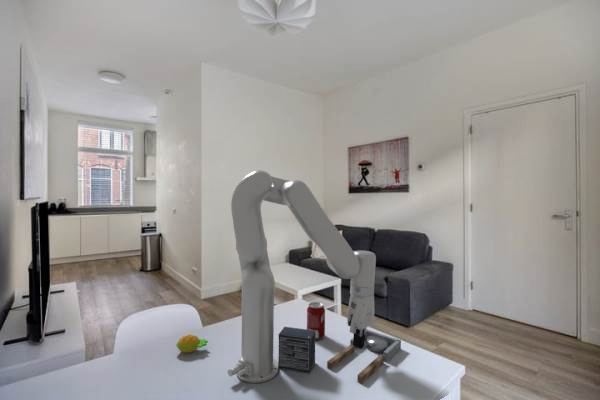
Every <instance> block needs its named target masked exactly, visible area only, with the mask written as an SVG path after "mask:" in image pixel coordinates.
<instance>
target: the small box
mask: <svg viewBox="0 0 600 400" xmlns="http://www.w3.org/2000/svg"><path fill="white" fill-rule="evenodd" d="M315 365H316V340H315V331H314V330H307V328H306V329H305V328H298V327H290V326H283V328H282V330H281V331H280V332H279V333H278V369H284V370H287V371H288V370H289V371H293V372H294V371H295V372H301V373H307V374H311V373H312V371H313V369H314V367H315Z"/></svg>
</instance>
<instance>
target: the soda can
mask: <svg viewBox="0 0 600 400" xmlns="http://www.w3.org/2000/svg"><path fill="white" fill-rule="evenodd" d="M306 329H307V330H314V331H315V341H316V340H322V339H323V338H324V337H325V336H326V335H325V334H326V331H325V330H326V309H325V307H324V304H323V302H317V301H313V302H310V303H308V306H307V309H306Z"/></svg>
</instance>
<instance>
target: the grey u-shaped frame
mask: <svg viewBox="0 0 600 400" xmlns="http://www.w3.org/2000/svg"><path fill="white" fill-rule="evenodd" d="M369 336H381V337H384V338H385V339H387V341H388V348H387V349H386V350H385V351H384V353H383V357H384V363H388V362H389V361H390V360H392V358H393V357H395V355H396V354H397V353H398V352H399V351H400V350H401V349H402V347H401V345H402V342H401V341H402V340H401V339H397V338H395V337H391V336H390V335H389V336H388V335H385V334H383V333H380V332H377V331H373V330H370V329H367V328H366V334H365V341H367V338H368V337H369ZM353 338H354V337H352V338H351V339H350V342H349V343H350V344H351V345H353ZM350 344H349V345H350ZM355 349H357V347H355Z"/></svg>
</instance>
